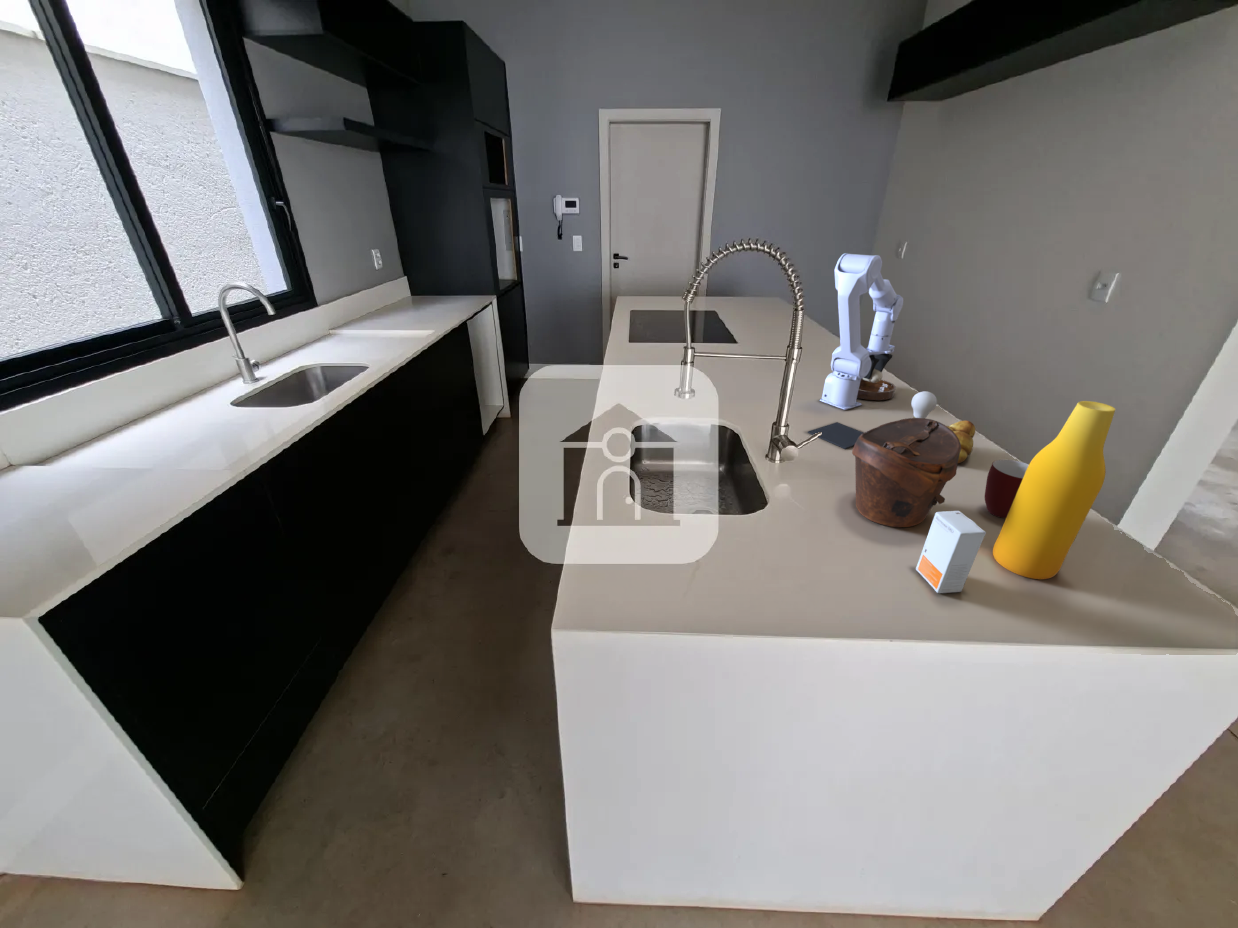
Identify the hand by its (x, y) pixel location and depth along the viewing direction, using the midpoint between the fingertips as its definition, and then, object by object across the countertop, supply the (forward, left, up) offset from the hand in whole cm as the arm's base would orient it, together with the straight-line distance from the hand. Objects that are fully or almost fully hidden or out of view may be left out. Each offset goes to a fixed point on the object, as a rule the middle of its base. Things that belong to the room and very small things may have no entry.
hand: (871, 377), depth 158 cm
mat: (+17, -35, -6) cm, 39 cm away
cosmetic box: (+63, -70, -6) cm, 94 cm away
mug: (+59, -39, -6) cm, 71 cm away
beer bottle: (+68, -53, -6) cm, 86 cm away
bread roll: (+38, -23, -6) cm, 45 cm away
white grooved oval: (0, 0, -2) cm, 2 cm away
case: (+46, -58, -6) cm, 74 cm away
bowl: (0, 0, -6) cm, 6 cm away
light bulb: (+24, -12, -6) cm, 27 cm away
